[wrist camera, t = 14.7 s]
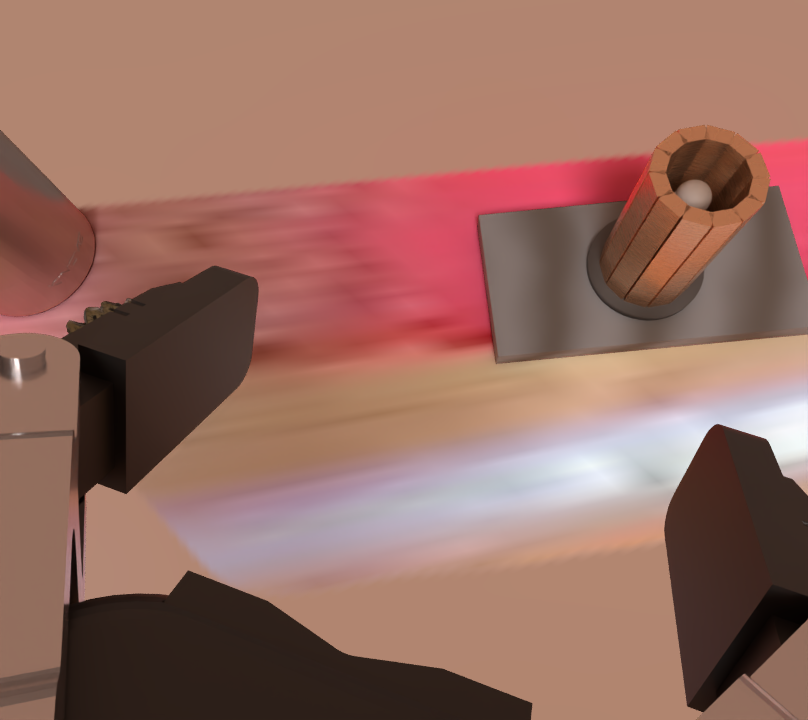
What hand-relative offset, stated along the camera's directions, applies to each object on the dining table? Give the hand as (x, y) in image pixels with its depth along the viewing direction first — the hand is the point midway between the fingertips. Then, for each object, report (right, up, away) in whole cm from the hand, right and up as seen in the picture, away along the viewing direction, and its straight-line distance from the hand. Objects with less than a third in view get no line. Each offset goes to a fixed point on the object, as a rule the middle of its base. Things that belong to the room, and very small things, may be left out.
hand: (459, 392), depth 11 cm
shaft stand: (+15, +6, +32) cm, 36 cm away
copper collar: (+14, +7, +30) cm, 34 cm away
